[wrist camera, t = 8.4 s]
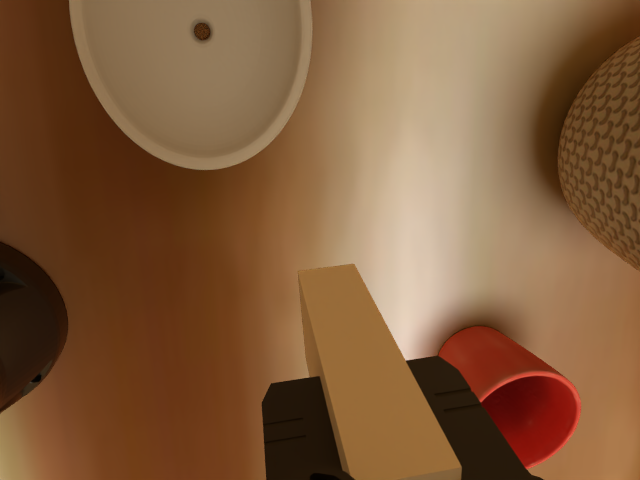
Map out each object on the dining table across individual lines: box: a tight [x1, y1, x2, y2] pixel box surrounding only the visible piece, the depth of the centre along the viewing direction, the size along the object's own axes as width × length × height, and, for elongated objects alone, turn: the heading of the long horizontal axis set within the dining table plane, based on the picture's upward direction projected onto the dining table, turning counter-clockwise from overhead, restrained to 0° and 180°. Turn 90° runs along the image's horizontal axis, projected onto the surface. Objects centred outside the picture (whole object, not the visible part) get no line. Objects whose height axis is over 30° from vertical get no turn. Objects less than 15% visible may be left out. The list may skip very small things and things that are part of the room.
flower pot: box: [438, 326, 581, 469], centre depth 44 cm, size 11×11×10 cm
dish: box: [69, 0, 313, 170], centre depth 31 cm, size 18×14×5 cm
